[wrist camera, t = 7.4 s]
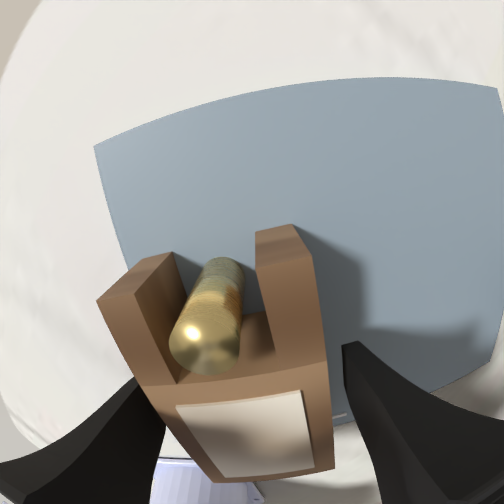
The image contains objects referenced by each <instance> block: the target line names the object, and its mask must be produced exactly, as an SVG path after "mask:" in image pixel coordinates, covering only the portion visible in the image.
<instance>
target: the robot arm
mask: <svg viewBox="0 0 504 504" xmlns="http://www.w3.org/2000/svg"><path fill="white" fill-rule="evenodd" d="M341 350H342V364H343V382H344V388H345V391H346V395H347V399H348V402H349V405H350V409H351V411H352V413H353V416H354V418H355V421H356V423H357V425H358V428H359V430H360V432H361V435H362V437H363V440H364V442H365V444H366V447H367V449H368V452H369V454H370V457H371V460H372V463H373V466H374V470H375V474H376V478H377V482H378V486H379V490H380V495H381V499H382V504H504V420H499V419H495V418H491V417H487V416H483V415H479V414H476V413H473V412H471V411H468V410H465V409H462V408H460V407H457V406H454V405H452V404H450V403H448V402H445V401H443V400H441V399H439V398H437V397H435V396H433V395H432V394H430V393H428V392H426V391H425V390H423V389H421V388H420V387H418V386H416V385H415V384H413V383H412V382H410V381H409V380H407V379H406V378H404V377H403V376H402V375H400V374H399V373H398V372H396V371H395V370H394V369H392V368H391V367H390V366H388V365H387V364H386V363H384V362H383V361H382V360H381V359H380V358H378V357H377V356H376V355H375V354H374V353H372V352H371V351H370V350H369V349H368V348H367V347H366V346H364V345H363V344H362V343H361V342H360V341H358V340H357V341H354V342H350V343H347V344H343V345H341ZM165 430H166V424H165V423H164V421H163V420H162V418H161V417H160V416H159V414H158V413H157V411H156V410H155V408H154V407H153V405H152V404H151V402H150V401H149V399H148V397H147V396H146V394H145V393H144V391H143V390H142V388H141V386H140V385H139V383H138V381H137V380H136V378H135V376H134V377H133V378H132V379H130V380H129V381H128V382H127V383H126V384H125V385H124V386H122V387H121V388H120V389H119V390H118V391H117V392H116V393H115V394H114V395H113V396H112V397H111V398H110V399H109V400H107V401H106V402H105V403H104V404H103V405H102V406H101V407H100V408H99V409H98V410H97V411H95V412H94V413H93V414H92V415H91V416H90V417H88V418H87V419H86V420H85V421H84V422H83V423H81V424H80V425H79V426H78V427H76V428H75V429H74V430H72V431H71V432H70V433H68V434H67V435H65V436H64V437H62V438H61V439H59V440H57V441H55V442H54V443H52V444H50V445H48V446H46V447H45V448H43V449H41V450H39V451H37V452H34V453H32V454H29V455H26V456H24V457H21V458H18V459H14V460H11V461H7V462H2V463H0V493H1V494H2V495H4V496H5V497H6V498H7V499H9V500H10V501H12V502H13V503H14V504H263V503H265V499H264V497H263V496H262V495H261V493H260V492H259V490H258V489H257V488H256V486H255V485H254V483H253V482H240V483H213V482H212V481H211V480H210V479H209V478H208V477H207V475H206V474H205V473H204V472H203V471H202V470H201V469H200V467H199V466H198V465H197V464H196V463H195V462H194V460H179V459H161V458H158V457H159V453H160V450H161V446H162V443H163V439H164V435H165ZM153 478H154V479H155V483H154V487H153V491H152V495H151V498H150V494H151V485H152V480H153ZM2 504H7V503H6V502H5V501H3V502H2Z"/></svg>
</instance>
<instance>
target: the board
mask: <svg viewBox="0 0 504 504" xmlns="http://www.w3.org/2000/svg"><path fill="white" fill-rule="evenodd" d="M94 150H95V155H96V160H97V165H98V169H99V173H100V178H101V182H102V186H103V190H104V193H105V197H106V201H107V205H108V208H109V212H110V215H111V219H112V222H113V225H114V229H115V232H116V235H117V238H118V241H119V244H120V247H121V250H122V253H123V256H124V259H125V262H126V265H127V267H128V270H130V269H131V268H132V267H133V266H134V265H136V264H137V263H138V262H139V261H140V260H141V259H143V258H147V257H151V256H155V255H159V254H163V253H167V252H171V251H172V252H173V255H174V258H175V261H176V265H177V268H178V271H179V274H180V277H181V279H182V282H183V285H184V288H185V291H186V294H187V297H189V295H190V293H191V291H192V289H193V287H194V285H195V282H196V280H197V278H198V276H199V274H200V272H201V270H202V268H203V266H204V265H205V264H206V263H207V262H208V261H209V260H211V259H213V258H216V257H228V258H231V259H233V260H235V261H237V262H238V263H239V264H240V265H241V267H242V268H243V270H244V273H245V289H244V301H243V313H242V315H246V314H251V313H256V312H261V311H266V310H265V306H264V302H263V298H262V294H261V290H260V286H259V282H258V278H257V274H256V270H255V232H256V231H260V230H265V229H269V228H273V227H278V226H282V225H287V224H292V225H293V227H294V228H295V230H296V231H297V233H298V235H299V236H300V238H301V239H302V241H303V242H304V244H305V246H306V247H307V249H308V250H309V252H310V254H311V255H312V260H313V266H314V272H315V278H316V284H317V291H318V297H319V304H320V311H321V318H322V325H323V333H324V341H325V349H326V358H327V367H328V376H329V386H330V397H331V409H332V422H333V426H337V425H340V424H344V423H348V422H351V421H355V418H354V416H353V413H352V411H351V409H350V405H349V402H348V399H347V395H346V391H345V388H344V382H343V364H342V350H341V345H343V344H347V343H350V342H354V341H357V340H358V341H360V342H361V343H362V344H363V345H364V346H366V347H367V348H368V349H369V350H370V351H371V352H372V353H374V354H375V355H376V356H377V357H378V358H380V359H381V360H382V361H383V362H384V363H386V364H387V365H388V366H390V367H391V368H392V369H394V370H395V371H396V372H398V373H399V374H400V375H402V376H403V377H404V378H406V379H407V380H409V381H410V382H412V383H413V384H415V385H416V386H418V387H420V388H421V389H423V390H425V391H426V392H428V393H431V392H433V391H435V390H437V389H439V388H442V387H444V386H446V385H448V384H450V383H452V382H454V381H456V380H457V379H459V378H461V377H463V376H465V375H467V374H469V373H470V372H472V371H474V370H476V369H477V368H479V367H481V366H483V365H484V364H486V363H488V362H489V361H490V359H491V355H492V352H493V349H494V346H495V342H496V339H497V335H498V331H499V328H500V324H501V319H502V315H503V311H504V114H503V110H502V105H501V101H500V97H499V94H498V90H497V88H494V87H489V86H483V85H477V84H471V83H464V82H457V81H448V80H438V79H424V78H400V77H377V78H352V79H338V80H327V81H317V82H309V83H301V84H294V85H288V86H282V87H276V88H270V89H265V90H260V91H255V92H250V93H246V94H241V95H237V96H233V97H229V98H225V99H221V100H217V101H213V102H210V103H206V104H202V105H199V106H196V107H192V108H189V109H186V110H183V111H180V112H177V113H174V114H171V115H168V116H165V117H162V118H159V119H156V120H154V121H151V122H148V123H146V124H143V125H141V126H138V127H136V128H133V129H131V130H128V131H126V132H123V133H121V134H119V135H116V136H114V137H112V138H110V139H107V140H105V141H103V142H101V143H99V144H97V145H95V146H94Z"/></svg>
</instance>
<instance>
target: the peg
mask: <svg viewBox="0 0 504 504" xmlns="http://www.w3.org/2000/svg"><path fill="white" fill-rule="evenodd" d="M244 289H245V273H244V270H243V268H242V267H241V265H240V264H239V263H238V262H237V261H235V260H233V259H231V258H228V257H216V258H213V259H211V260H209V261H208V262H207V263H206V264H205V265H204V266H203V268H202V270H201V272H200V274H199V276H198V278H197V280H196V282H195V285H194V287H193V289H192V291H191V293H190V295H189V297H188V299H187V301H186V303H185V305H184V307H183V309H182V311H181V313H180V316H179V318H178V320H177V322H176V324H175V326H174V328H173V330H172V333H171V335H170V338H169V348H170V351H171V354H172V356H173V357H174V359H175V360H176V361H177V362H178V363H179V364H180V365H181V366H182V367H184V368H185V369H187V370H189V371H191V372H193V373H196V374H201V375H218V374H221V373H224V372H226V371H228V370H229V369H231V368H232V367H233V366H234V365H235V363H236V362H237V360H238V357H239V350H240V338H241V326H242V313H243V301H244Z"/></svg>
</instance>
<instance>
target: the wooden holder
mask: <svg viewBox="0 0 504 504" xmlns="http://www.w3.org/2000/svg"><path fill="white" fill-rule="evenodd" d="M255 270H256V274H257V278H258V282H259V286H260V290H261V294H262V298H263V302H264V306H265V310H266V311H261V312H256V313H251V314H246V315H242V326H241V338H240V350H239V357H238V360H237V362H236V363H235V365H234V366H233V367H232V368H231V369H229V370H228V371H226V372H224V373H221V374H218V375H201V374H196V373H193V372H191V371H189V370H187V369H185V368H184V367H182V366H181V365H180V364H179V363H178V362H177V361H176V360H175V359H174V357H173V356H172V354H171V351H170V348H169V338H170V335H171V333H172V330H173V328H174V326H175V324H176V322H177V320H178V318H179V316H180V313H181V311H182V309H183V307H184V305H185V303H186V301H187V299H188V297H187V294H186V291H185V288H184V285H183V282H182V279H181V277H180V274H179V271H178V268H177V265H176V261H175V258H174V255H173V252H172V251H171V252H167V253H163V254H159V255H155V256H151V257H147V258H143V259H141V260H140V261H139V262H138V263H137V264H136V265H134V266H133V267H132V268H131V269H130V270H129V271H128V272H127V273H126V274H124V275H123V276H122V277H121V278H120V279H119V280H118V281H117V282H116V283H115V284H114V285H112V286H111V287H110V288H109V289H108V290H107V291H106V292H105V293H104V294H103V295H102V296H101V297H100V298H99V299H98V300H97V301H96V302H97V304H98V307H99V309H100V311H101V313H102V315H103V317H104V320H105V322H106V324H107V326H108V328H109V330H110V332H111V334H112V336H113V338H114V340H115V342H116V344H117V346H118V348H119V350H120V352H121V353H122V355H123V357H124V359H125V361H126V362H127V364H128V366H129V368H130V370H131V371H132V373H133V375H134V376H135V378H136V380H137V381H138V383H139V385H140V386H141V388H142V390H143V391H144V393H145V394H146V396H147V397H148V399H149V401H150V402H151V404H152V405H153V407H154V408H155V410H156V411H157V413H158V414H159V416H160V417H161V418H162V420H163V421H164V423H165V424H166V425H167V427H168V428H169V430H170V431H171V432H172V434H173V435H174V436H175V438H176V439H177V440H178V442H179V443H180V444H181V445H182V447H183V448H184V449H185V451H186V452H187V453H188V454H189V455H190V457H191V458H192V459H193V460H194V462H195V463H196V464H197V465H198V466H199V467H200V469H201V470H202V471H203V472H204V473H205V474H206V475H207V477H208V478H209V479H210V480H211V481H212V482H213V483H240V482H255V481H266V480H275V479H283V478H290V477H296V476H302V475H308V474H313V473H318V472H323V471H327V470H332V469H335V457H334V438H333V422H332V409H331V397H330V386H329V376H328V367H327V358H326V349H325V341H324V333H323V325H322V318H321V311H320V304H319V297H318V291H317V284H316V278H315V272H314V266H313V260H312V255H311V254H310V252H309V250H308V249H307V247H306V246H305V244H304V242H303V241H302V239H301V238H300V236H299V235H298V233H297V231H296V230H295V228H294V227H293V225H292V224H287V225H282V226H278V227H273V228H269V229H265V230H260V231H256V232H255Z"/></svg>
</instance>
